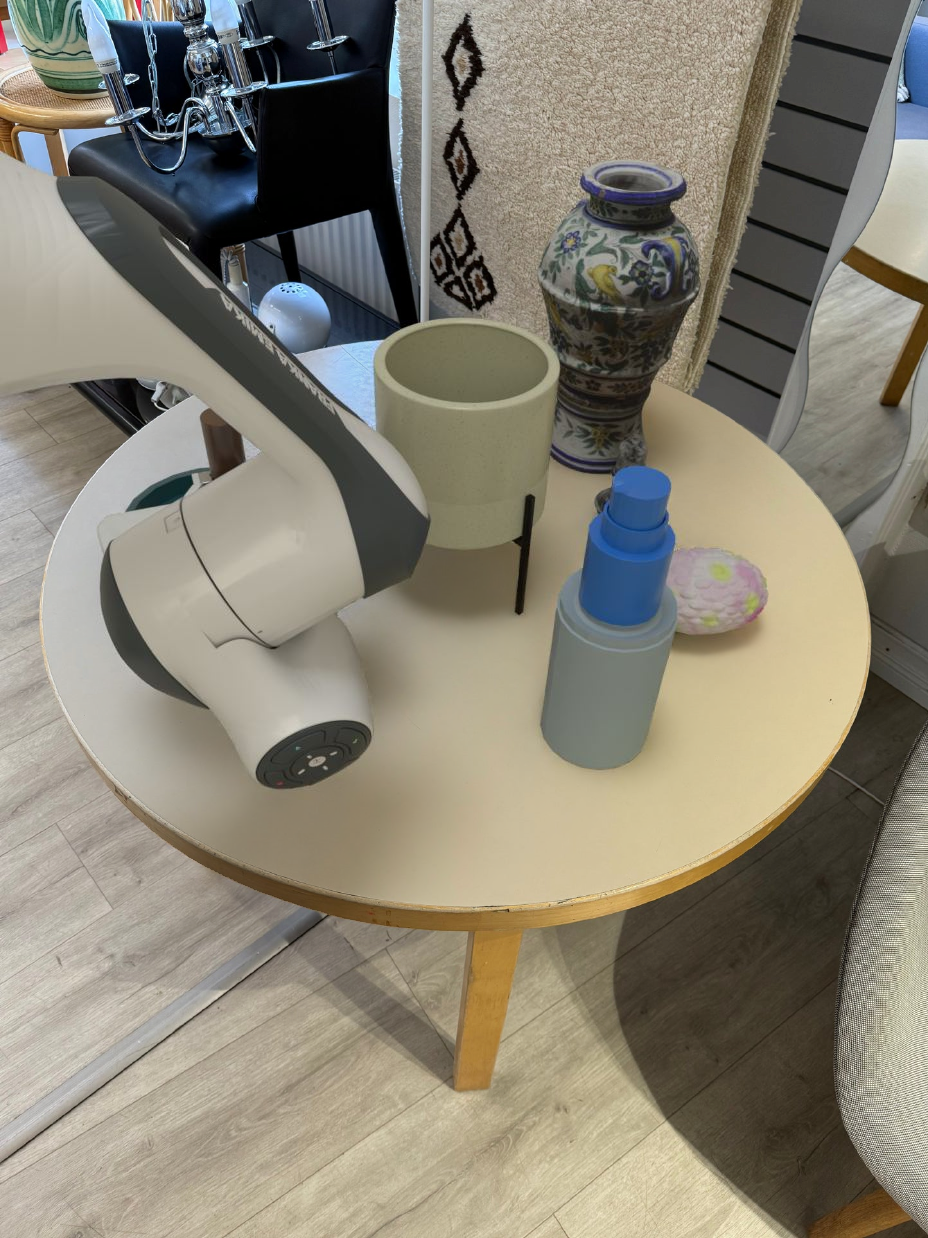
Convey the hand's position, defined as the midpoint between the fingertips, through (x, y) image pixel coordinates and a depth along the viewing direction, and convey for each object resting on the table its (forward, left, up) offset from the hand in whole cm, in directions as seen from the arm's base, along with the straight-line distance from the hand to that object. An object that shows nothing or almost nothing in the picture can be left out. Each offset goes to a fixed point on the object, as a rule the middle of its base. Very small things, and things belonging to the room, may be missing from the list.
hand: (228, 474), depth 72 cm
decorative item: (+41, -5, -17) cm, 44 cm away
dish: (-3, +11, -17) cm, 20 cm away
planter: (+20, +5, -17) cm, 26 cm away
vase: (+40, +25, -17) cm, 50 cm away
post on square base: (0, -1, -8) cm, 9 cm away
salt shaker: (+38, +9, -17) cm, 42 cm away
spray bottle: (+28, -16, -17) cm, 36 cm away
